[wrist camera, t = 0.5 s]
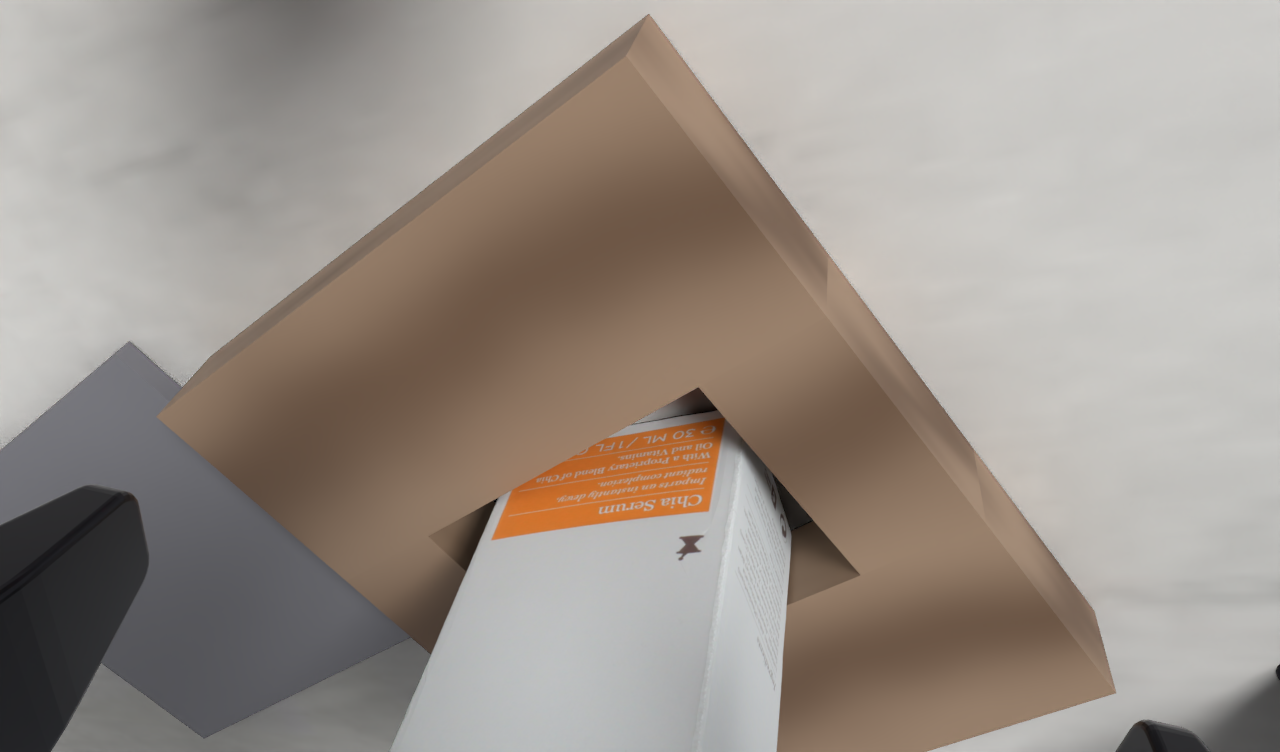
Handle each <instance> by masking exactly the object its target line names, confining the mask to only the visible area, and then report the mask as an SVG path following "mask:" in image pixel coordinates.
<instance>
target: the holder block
mask: <svg viewBox="0 0 1280 752" xmlns="http://www.w3.org/2000/svg"><path fill="white" fill-rule="evenodd" d="M698 387H699V388H700V390H701V391H702V392H703V393H704V394H705V395H706V396H707V398H708V399H709V400H710V401H711V402H712V403H713V405H714V406H715V407H716V408H717V409H718V410H719V412H720V413H721V414H722V415H723V416H724V417H725V419H726V420H727V421H728V422H729V423H730V424H731V425H732V427H733V428H734V429H735V430H736V431H737V432H738V434H739V435H740V436H741V437H742V438H743V439H744V441H745V442H746V443H747V444H748V445H749V446H750V447H751V449H752V450H753V451H754V452H755V453H756V454H757V456H758V457H759V458H760V459H761V460H762V461H763V463H764V464H765V465H766V466H767V467H768V468H769V470H770V471H771V472H772V473H773V474H774V475H775V476H776V478H777V479H778V480H779V481H780V482H781V483H782V485H783V486H784V487H785V488H786V489H787V490H788V492H789V493H790V494H791V495H792V496H793V497H794V499H795V500H796V501H797V502H798V503H799V504H800V505H801V507H802V508H803V509H804V510H805V511H806V512H807V514H808V515H809V516H810V517H811V518H812V519H813V521H812V522H810V523H808V524H805V525H803V526H801V527H799V528H797V529H794V530H792V531H791V535H792V536H791V554H790V570H789V583H788V594H787V609H786V624H785V635H784V647H783V665H782V682H781V697H780V711H779V726H778V738H777V740H778V741H777V752H926V751H930V750H933V749H936V748H939V747H943V746H946V745H949V744H952V743H956V742H959V741H962V740H965V739H969V738H972V737H975V736H978V735H982V734H985V733H988V732H991V731H994V730H998V729H1001V728H1004V727H1007V726H1011V725H1014V724H1017V723H1020V722H1024V721H1027V720H1030V719H1033V718H1037V717H1040V716H1043V715H1046V714H1050V713H1053V712H1056V711H1059V710H1063V709H1066V708H1069V707H1072V706H1076V705H1079V704H1082V703H1085V702H1089V701H1092V700H1095V699H1098V698H1101V697H1105V696H1108V695H1111V694H1114V693H1116V690H1115V687H1114V683H1113V679H1112V675H1111V672H1110V668H1109V664H1108V660H1107V657H1106V653H1105V649H1104V645H1103V642H1102V638H1101V634H1100V631H1099V627H1098V623H1097V619H1096V616H1095V612H1094V610H1093V609H1092V607H1091V606H1090V605H1089V603H1088V602H1087V601H1086V599H1085V598H1084V597H1083V595H1082V594H1081V593H1080V591H1079V590H1078V589H1077V587H1076V586H1075V585H1074V583H1073V582H1072V581H1071V579H1070V578H1069V577H1068V575H1067V574H1066V573H1065V571H1064V570H1063V568H1062V567H1061V566H1060V564H1059V563H1058V562H1057V560H1056V559H1055V558H1054V556H1053V555H1052V554H1051V552H1050V551H1049V550H1048V548H1047V547H1046V546H1045V544H1044V543H1043V542H1042V540H1041V539H1040V538H1039V536H1038V535H1037V534H1036V532H1035V531H1034V530H1033V528H1032V527H1031V526H1030V524H1029V523H1028V522H1027V520H1026V519H1025V518H1024V516H1023V515H1022V514H1021V512H1020V511H1019V509H1018V508H1017V507H1016V505H1015V504H1014V503H1013V501H1012V500H1011V499H1010V497H1009V496H1008V495H1007V493H1006V492H1005V491H1004V489H1003V488H1002V487H1001V485H1000V484H999V483H998V481H997V480H996V479H995V477H994V476H993V475H992V473H991V472H990V471H989V469H988V468H987V467H986V465H985V464H984V463H983V461H982V460H981V459H980V457H979V456H978V455H977V453H976V452H975V450H974V449H973V448H972V446H971V445H970V444H969V442H968V441H967V440H966V438H965V437H964V436H963V434H962V433H961V432H960V430H959V429H958V428H957V426H956V425H955V424H954V422H953V421H952V420H951V418H950V417H949V416H948V414H947V413H946V412H945V410H944V409H943V408H942V406H941V405H940V404H939V402H938V401H937V400H936V398H935V397H934V396H933V394H932V393H931V391H930V390H929V389H928V387H927V386H926V385H925V383H924V382H923V381H922V379H921V378H920V377H919V375H918V374H917V373H916V371H915V370H914V369H913V367H912V366H911V365H910V363H909V362H908V361H907V359H906V358H905V357H904V355H903V354H902V353H901V351H900V350H899V349H898V347H897V346H896V345H895V343H894V342H893V341H892V339H891V338H890V337H889V335H888V334H887V332H886V331H885V330H884V328H883V327H882V326H881V324H880V323H879V322H878V320H877V319H876V318H875V316H874V315H873V314H872V312H871V311H870V310H869V308H868V307H867V306H866V304H865V303H864V302H863V300H862V299H861V298H860V296H859V295H858V294H857V292H856V291H855V290H854V288H853V287H852V286H851V284H850V283H849V282H848V280H847V279H846V278H845V276H844V275H843V273H842V272H841V271H840V269H839V268H838V267H837V265H836V264H835V263H834V261H833V260H832V259H831V257H830V256H829V255H828V253H827V252H826V251H825V249H824V248H823V247H822V245H821V244H820V243H819V241H818V240H817V239H816V237H815V236H814V235H813V233H812V232H811V231H810V229H809V228H808V227H807V225H806V224H805V223H804V221H803V220H802V219H801V217H800V216H799V214H798V213H797V212H796V210H795V209H794V208H793V206H792V205H791V204H790V202H789V201H788V200H787V198H786V197H785V196H784V194H783V193H782V192H781V190H780V189H779V188H778V186H777V185H776V184H775V182H774V181H773V180H772V178H771V177H770V176H769V174H768V173H767V172H766V170H765V169H764V168H763V166H762V165H761V164H760V162H759V161H758V160H757V158H756V157H755V155H754V154H753V153H752V151H751V150H750V149H749V147H748V146H747V145H746V143H745V142H744V141H743V139H742V138H741V137H740V135H739V134H738V133H737V131H736V130H735V129H734V127H733V126H732V125H731V123H730V122H729V121H728V119H727V118H726V117H725V115H724V114H723V113H722V111H721V110H720V109H719V107H718V106H717V105H716V103H715V102H714V101H713V99H712V98H711V96H710V95H709V94H708V92H707V91H706V90H705V88H704V87H703V86H702V84H701V83H700V82H699V80H698V79H697V78H696V76H695V75H694V74H693V72H692V71H691V70H690V68H689V67H688V66H687V64H686V63H685V62H684V60H683V59H682V58H681V56H680V55H679V54H678V52H677V51H676V50H675V48H674V47H673V46H672V44H671V43H670V42H669V40H668V39H667V37H666V36H665V35H664V33H663V32H662V31H661V29H660V28H659V27H658V25H657V24H656V23H655V21H654V20H653V19H652V17H651V16H650V15H649V14H648V15H647V16H646V17H644V18H643V19H642V20H640V21H639V22H638V23H637V24H635V25H634V26H633V27H632V28H630V29H629V30H628V31H626V32H625V33H624V34H623V35H621V36H620V37H619V38H617V39H616V40H615V41H614V42H612V43H611V44H610V45H608V46H607V47H606V48H605V49H603V50H602V51H601V52H600V53H598V54H597V55H596V56H594V57H593V58H592V59H591V60H589V61H588V62H587V63H585V64H584V65H583V66H582V67H580V68H579V69H578V70H577V71H575V72H574V73H573V74H571V75H570V76H569V77H568V78H566V79H565V80H564V81H562V82H561V83H560V84H559V85H557V86H556V87H555V88H553V89H552V90H551V91H550V92H548V93H547V94H546V95H545V96H543V97H542V98H541V99H539V100H538V101H537V102H536V103H534V104H533V105H532V106H530V107H529V108H528V109H527V110H525V111H524V112H523V113H522V114H520V115H519V116H518V117H516V118H515V119H514V120H513V121H511V122H510V123H509V124H507V125H506V126H505V127H504V128H502V129H501V130H500V131H498V132H497V133H496V134H495V135H493V136H492V137H491V138H490V139H488V140H487V141H486V142H484V143H483V144H482V145H481V146H479V147H478V148H477V149H475V150H474V151H473V152H472V153H470V154H469V155H468V156H466V157H465V158H464V159H463V160H461V161H460V162H459V163H458V164H456V165H455V166H454V167H452V168H451V169H450V170H449V171H447V172H446V173H445V174H443V175H442V176H441V177H440V178H438V179H437V180H436V181H435V182H433V183H432V184H431V185H429V186H428V187H427V188H426V189H424V190H423V191H422V192H420V193H419V194H418V195H417V196H415V197H414V198H413V199H411V200H410V201H409V202H408V203H406V204H405V205H404V206H403V207H401V208H400V209H399V210H397V211H396V212H395V213H394V214H392V215H391V216H390V217H388V218H387V219H386V220H385V221H383V222H382V223H381V224H380V225H378V226H377V227H376V228H374V229H373V230H372V231H371V232H369V233H368V234H367V235H365V236H364V237H363V238H362V239H360V240H359V241H358V242H356V243H355V244H354V245H353V246H351V247H350V248H349V249H348V250H346V251H345V252H344V253H342V254H341V255H340V256H339V257H337V258H336V259H335V260H333V261H332V262H331V263H330V264H328V265H327V266H326V267H324V268H323V269H322V270H321V271H319V272H318V273H317V274H316V275H314V276H313V277H312V278H310V279H309V280H308V281H307V282H305V283H304V284H303V285H301V286H300V287H299V288H298V289H296V290H295V291H294V292H293V293H291V294H290V295H289V296H287V297H286V298H285V299H284V300H282V301H281V302H280V303H278V304H277V305H276V306H275V307H273V308H272V309H271V310H269V311H268V312H267V313H266V314H264V315H263V316H262V317H261V318H259V319H258V320H257V321H255V322H254V323H253V324H252V325H250V326H249V327H248V328H246V329H245V330H244V331H243V332H241V333H240V334H239V335H237V336H236V337H235V338H234V339H232V340H231V341H230V342H229V343H227V344H226V345H225V346H223V347H222V348H221V349H220V350H218V351H217V352H216V353H214V354H213V355H212V356H211V357H210V358H209V359H208V360H207V361H206V362H205V363H204V364H203V365H202V367H201V368H200V369H199V370H198V371H197V372H196V373H195V374H194V375H193V377H192V378H191V379H190V380H189V381H188V382H187V383H186V384H185V385H184V386H183V388H182V389H181V390H180V391H179V392H178V393H177V394H176V395H175V396H174V398H173V399H172V400H171V401H170V402H169V403H168V404H167V405H166V406H165V407H164V409H163V410H162V411H161V412H160V413H159V414H158V415H157V416H156V417H157V418H158V419H159V420H161V421H162V422H163V423H164V424H165V425H166V426H167V427H169V428H170V429H171V430H172V431H173V432H174V433H176V434H177V435H178V436H179V437H180V438H181V439H183V440H184V441H185V442H186V443H187V444H188V445H189V446H191V447H192V448H193V449H194V450H195V451H196V452H198V453H199V454H200V455H201V456H202V457H203V458H204V459H206V460H207V461H208V462H209V463H210V464H211V465H213V466H214V467H215V468H216V469H217V470H218V471H220V472H221V473H222V474H223V475H224V476H225V477H226V478H228V479H229V480H230V481H231V482H232V483H233V484H235V485H236V486H237V487H238V488H239V489H240V490H241V491H243V492H244V493H245V494H246V495H247V496H248V497H250V498H251V499H252V500H253V501H254V502H255V503H257V504H258V505H259V506H260V507H261V508H262V509H263V510H265V511H266V512H267V513H268V514H269V515H270V516H272V517H273V518H274V519H275V520H276V521H277V522H278V523H280V524H281V525H282V526H283V527H284V528H285V529H287V530H288V531H289V532H290V533H291V534H292V535H294V536H295V537H296V538H297V539H298V540H299V541H300V542H302V543H303V544H304V545H305V546H306V547H307V548H309V549H310V550H311V551H312V552H313V553H314V554H315V555H317V556H318V557H319V558H320V559H321V560H322V561H324V562H325V563H326V564H327V565H328V566H329V567H331V568H332V569H333V570H334V571H335V572H336V573H337V574H339V575H340V576H341V577H342V578H343V579H344V580H346V581H347V582H348V583H349V584H350V585H351V586H353V587H354V588H355V589H356V590H357V591H358V592H359V593H361V594H362V595H363V596H364V597H365V598H366V599H368V600H369V601H370V602H371V603H372V604H373V605H374V606H376V607H377V608H378V609H379V610H380V611H381V612H383V613H384V614H385V615H386V616H387V617H388V618H390V619H391V620H392V621H393V622H394V623H395V624H396V625H398V626H399V627H400V628H401V629H402V630H403V631H405V632H406V633H407V634H408V635H409V636H410V637H411V638H413V639H414V640H415V641H416V642H417V643H418V644H420V645H421V646H422V647H423V648H424V649H425V650H427V651H428V652H429V653H430V654H431V653H432V651H433V649H434V647H435V644H436V642H437V639H438V637H439V635H440V632H441V630H442V627H443V625H444V622H445V620H446V618H447V616H448V613H449V611H450V609H451V606H452V604H453V602H454V599H455V597H456V595H457V592H458V590H459V587H460V585H461V583H462V581H463V578H464V576H465V574H466V572H467V569H468V567H469V565H470V562H471V560H472V558H473V555H474V553H475V551H476V548H477V546H478V543H479V541H480V539H481V537H482V534H483V532H484V530H485V527H486V525H487V523H488V520H489V518H490V516H491V513H492V511H493V508H494V506H495V503H494V502H493V500H495V499H497V498H498V497H500V496H502V495H504V494H506V493H508V492H509V491H511V490H513V489H515V488H517V487H518V486H520V485H522V484H524V483H526V482H528V481H529V480H531V479H533V478H535V477H537V476H538V475H540V474H542V473H544V472H546V471H547V470H549V469H551V468H553V467H555V466H557V465H558V464H560V463H562V462H564V461H566V460H567V459H569V458H571V457H573V456H575V455H576V454H578V453H580V452H582V451H584V450H586V449H587V448H589V447H591V446H593V445H595V444H596V443H598V442H600V441H602V440H604V439H606V438H607V437H609V436H611V435H613V434H615V433H616V432H618V431H620V430H622V429H624V428H625V427H627V426H629V425H631V424H633V423H635V422H636V421H638V420H640V419H642V418H644V417H645V416H647V415H649V414H651V413H653V412H654V411H656V410H658V409H660V408H662V407H664V406H665V405H667V404H669V403H671V402H673V401H674V400H676V399H678V398H680V397H682V396H684V395H685V394H687V393H689V392H691V391H693V390H694V389H696V388H698Z"/></svg>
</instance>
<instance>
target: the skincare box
mask: <svg viewBox="0 0 1280 752" xmlns="http://www.w3.org/2000/svg"><path fill="white" fill-rule="evenodd" d="M791 536H792V535H791V531H790V528H789V525H788V521H787V518H786V515H785V512H784V509H783V506H782V503H781V500H780V496H779V493H778V490H777V487H776V484H775V481H774V478H773V475H772V472H771V471H770V470H769V468H768V467H767V466H766V465H765V464H764V463H763V461H762V460H761V459H760V458H759V457H758V456H757V454H756V453H755V452H754V451H753V450H752V449H751V447H750V446H749V445H748V444H747V443H746V442H745V441H744V439H743V438H742V437H741V436H740V435H739V434H738V432H737V431H736V430H735V429H734V428H733V427H732V425H731V424H730V423H729V422H728V421H727V420H726V419H725V417H724V416H723V415H722V414H721V413H720V412H719V410H716V411H712V412H706V413H699V414H692V415H686V416H679V417H674V418H669V419H663V420H658V421H652V422H646V423H640V424H634V425H629V426H627V427H625V428H624V429H622V430H620V431H618V432H616V433H615V434H613V435H611V436H609V437H607V438H606V439H604V440H602V441H600V442H598V443H596V444H595V445H593V446H591V447H589V448H587V449H586V450H584V451H582V452H580V453H578V454H576V455H575V456H573V457H571V458H569V459H567V460H566V461H564V462H562V463H560V464H558V465H557V466H555V467H553V468H551V469H549V470H547V471H546V472H544V473H542V474H540V475H538V476H537V477H535V478H533V479H531V480H529V481H528V482H526V483H524V484H522V485H520V486H518V487H517V488H515V489H513V490H511V491H509V492H508V493H506V494H504V495H502V496H500V497H498V499H497V502H496V504H495V506H494V508H493V511H492V513H491V516H490V518H489V520H488V523H487V525H486V527H485V530H484V532H483V534H482V537H481V539H480V541H479V543H478V546H477V548H476V551H475V553H474V555H473V558H472V560H471V562H470V565H469V567H468V569H467V572H466V574H465V576H464V578H463V581H462V583H461V585H460V587H459V590H458V592H457V595H456V597H455V599H454V602H453V604H452V606H451V609H450V611H449V613H448V616H447V618H446V620H445V622H444V625H443V627H442V630H441V632H440V635H439V637H438V639H437V642H436V644H435V647H434V649H433V651H432V653H431V656H430V658H429V660H428V663H427V665H426V667H425V670H424V672H423V674H422V677H421V679H420V681H419V684H418V686H417V688H416V691H415V693H414V695H413V697H412V699H411V702H410V704H409V706H408V709H407V711H406V714H405V716H404V719H403V721H402V723H401V726H400V728H399V730H398V732H397V735H396V737H395V739H394V741H393V744H392V746H391V748H390V751H389V752H777V741H778V740H777V738H778V726H779V711H780V697H781V682H782V665H783V647H784V635H785V624H786V609H787V594H788V583H789V570H790V554H791Z"/></svg>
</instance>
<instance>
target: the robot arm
mask: <svg viewBox="0 0 1280 752" xmlns="http://www.w3.org/2000/svg"><path fill="white" fill-rule="evenodd" d="M148 567H149V551H148V546H147V541H146V536H145V531H144V527H143V522H142V517H141V512H140V507H139V503H138V500H137V499H136V498H135V497H134V495H133V494H132V493H130V492H128V491H124V490H120V489H115V488H111V487H106V486H102V485H96V484H88V485H84V486H81V487H79V488H76V489H74V490H72V491H70V492H68V493H66V494H64V495H61V496H59V497H57V498H55V499H53V500H51V501H49V502H47V503H45V504H42V505H40V506H38V507H36V508H34V509H32V510H30V511H28V512H26V513H24V514H21V515H19V516H17V517H15V518H13V519H11V520H9V521H7V522H5V523H2V524H0V752H51V750H52V749H53V747H54V746H55V744H56V743H57V741H58V739H59V738H60V736H61V735H62V733H63V732H64V730H65V728H66V727H67V725H68V723H69V721H70V720H71V718H72V716H73V714H74V712H75V711H76V709H77V707H78V705H79V704H80V702H81V700H82V698H83V696H84V694H85V692H86V690H87V688H88V687H89V685H90V683H91V681H92V679H93V677H94V675H95V673H96V671H97V670H98V668H99V666H100V664H101V662H102V660H103V658H104V656H105V654H106V652H107V651H108V649H109V647H110V645H111V643H112V641H113V639H114V637H115V635H116V634H117V632H118V630H119V628H120V626H121V624H122V622H123V620H124V618H125V616H126V615H127V613H128V611H129V609H130V607H131V605H132V603H133V601H134V599H135V598H136V596H137V594H138V592H139V590H140V588H141V586H142V584H143V582H144V580H145V577H146V574H147V571H148ZM1276 673H1277V676H1278V678H1279V680H1280V665H1279V666H1278V667H1277V670H1276ZM1116 752H1210V751H1209V750H1208V748H1207V747H1206V746H1205V745H1204V743H1203V742H1202V741H1201V740H1200V739H1199V738H1198V737H1197V736H1196V735H1195V734H1194V733H1193V732H1191V731H1190V730H1188V729H1185V728H1182V727H1178V726H1174V725H1169V724H1165V723H1161V722H1156V721H1152V720H1141V721H1139V722H1137V723H1135V724H1134V725H1133V727H1132V728H1131V729H1130V730H1129V732H1128V734H1127V735H1126V737H1125V738H1124V740H1123V741H1122V743H1121V744H1120V746H1119V747H1118V749H1117V750H1116Z"/></svg>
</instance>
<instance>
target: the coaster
mask: <svg viewBox="0 0 1280 752" xmlns="http://www.w3.org/2000/svg"><path fill="white" fill-rule="evenodd" d="M181 389H182V388H181V387H180V386H179V385H178V384H177V383H176V382H174V381H173V380H172V379H171V378H170V377H169V376H168V375H167V374H165V373H164V372H163V371H162V370H161V369H160V368H159V367H158V366H156V365H155V364H154V363H153V362H152V361H151V360H150V359H149V358H147V357H146V356H145V355H144V354H143V353H142V352H141V351H140V350H138V349H137V348H136V347H135V346H134V345H133V344H132V343H131V342H128V343H127V344H126V345H124V346H123V347H122V348H121V349H120V350H118V351H117V352H116V353H115V354H114V355H113V356H111V357H110V358H109V359H108V360H107V361H105V362H104V363H103V364H102V365H101V366H100V367H98V368H97V369H96V370H95V371H94V372H92V373H91V374H90V375H89V376H88V377H87V378H85V379H84V380H83V381H82V382H81V383H79V384H78V385H77V386H76V387H75V388H74V389H72V390H71V391H70V392H69V393H68V394H66V395H65V396H64V397H63V398H62V399H61V400H59V401H58V402H57V403H56V404H55V405H53V406H52V407H51V408H50V409H49V410H48V411H46V412H45V413H44V414H43V415H42V416H40V417H39V418H38V419H37V420H36V421H35V422H33V423H32V424H31V425H30V426H29V427H27V428H26V429H25V430H24V431H23V432H22V433H20V434H19V435H18V436H17V437H16V438H14V439H13V440H12V441H11V442H10V443H9V444H7V445H6V446H5V447H4V448H3V449H1V450H0V524H2V523H5V522H7V521H9V520H11V519H13V518H15V517H17V516H19V515H21V514H24V513H26V512H28V511H30V510H32V509H34V508H36V507H38V506H40V505H42V504H45V503H47V502H49V501H51V500H53V499H55V498H57V497H59V496H61V495H64V494H66V493H68V492H70V491H72V490H74V489H76V488H79V487H81V486H84V485H88V484H96V485H102V486H106V487H111V488H115V489H120V490H124V491H128V492H130V493H132V494H133V495H134V497H135V498H136V499H137V500H138V503H139V507H140V512H141V517H142V522H143V527H144V531H145V536H146V541H147V546H148V551H149V567H148V571H147V574H146V577H145V580H144V582H143V584H142V586H141V588H140V590H139V592H138V594H137V596H136V598H135V599H134V601H133V603H132V605H131V607H130V609H129V611H128V613H127V615H126V616H125V618H124V620H123V622H122V624H121V626H120V628H119V630H118V632H117V634H116V635H115V637H114V639H113V641H112V643H111V645H110V647H109V649H108V651H107V652H106V654H105V656H104V658H103V660H102V662H101V663H102V664H104V665H105V666H106V667H108V668H109V669H110V670H112V671H113V672H114V673H116V674H117V675H118V676H120V677H121V678H123V679H124V680H125V681H127V682H128V683H129V684H131V685H132V686H133V687H135V688H136V689H137V690H139V691H140V692H142V693H143V694H144V695H146V696H147V697H148V698H150V699H151V700H152V701H154V702H155V703H156V704H158V705H159V706H161V707H162V708H163V709H165V710H166V711H167V712H169V713H170V714H171V715H173V716H174V717H176V718H177V719H178V720H180V721H181V722H182V723H184V724H185V725H186V726H188V727H189V728H190V729H192V730H193V731H195V732H196V733H197V734H199V735H200V736H201V737H203V738H206V737H208V736H210V735H212V734H214V733H216V732H218V731H220V730H222V729H224V728H226V727H228V726H230V725H232V724H235V723H237V722H239V721H241V720H243V719H245V718H247V717H249V716H251V715H253V714H255V713H257V712H259V711H261V710H263V709H265V708H267V707H269V706H271V705H273V704H275V703H277V702H279V701H281V700H283V699H285V698H288V697H290V696H292V695H294V694H296V693H298V692H300V691H302V690H304V689H306V688H308V687H310V686H312V685H314V684H316V683H318V682H320V681H322V680H324V679H326V678H328V677H330V676H332V675H334V674H336V673H338V672H341V671H343V670H345V669H347V668H349V667H351V666H353V665H355V664H357V663H359V662H361V661H363V660H365V659H367V658H369V657H371V656H373V655H375V654H377V653H379V652H381V651H383V650H385V649H387V648H389V647H391V646H393V645H396V644H398V643H400V642H402V641H404V640H406V639H408V638H410V636H409V635H408V634H407V633H406V632H405V631H403V630H402V629H401V628H400V627H399V626H398V625H396V624H395V623H394V622H393V621H392V620H391V619H390V618H388V617H387V616H386V615H385V614H384V613H383V612H381V611H380V610H379V609H378V608H377V607H376V606H374V605H373V604H372V603H371V602H370V601H369V600H368V599H366V598H365V597H364V596H363V595H362V594H361V593H359V592H358V591H357V590H356V589H355V588H354V587H353V586H351V585H350V584H349V583H348V582H347V581H346V580H344V579H343V578H342V577H341V576H340V575H339V574H337V573H336V572H335V571H334V570H333V569H332V568H331V567H329V566H328V565H327V564H326V563H325V562H324V561H322V560H321V559H320V558H319V557H318V556H317V555H315V554H314V553H313V552H312V551H311V550H310V549H309V548H307V547H306V546H305V545H304V544H303V543H302V542H300V541H299V540H298V539H297V538H296V537H295V536H294V535H292V534H291V533H290V532H289V531H288V530H287V529H285V528H284V527H283V526H282V525H281V524H280V523H278V522H277V521H276V520H275V519H274V518H273V517H272V516H270V515H269V514H268V513H267V512H266V511H265V510H263V509H262V508H261V507H260V506H259V505H258V504H257V503H255V502H254V501H253V500H252V499H251V498H250V497H248V496H247V495H246V494H245V493H244V492H243V491H241V490H240V489H239V488H238V487H237V486H236V485H235V484H233V483H232V482H231V481H230V480H229V479H228V478H226V477H225V476H224V475H223V474H222V473H221V472H220V471H218V470H217V469H216V468H215V467H214V466H213V465H211V464H210V463H209V462H208V461H207V460H206V459H204V458H203V457H202V456H201V455H200V454H199V453H198V452H196V451H195V450H194V449H193V448H192V447H191V446H189V445H188V444H187V443H186V442H185V441H184V440H183V439H181V438H180V437H179V436H178V435H177V434H176V433H174V432H173V431H172V430H171V429H170V428H169V427H167V426H166V425H165V424H164V423H163V422H162V421H161V420H159V419H158V418H157V417H156V416H157V415H158V414H159V413H160V412H161V411H162V410H163V409H164V407H165V406H166V405H167V404H168V403H169V402H170V401H171V400H172V399H173V398H174V396H175V395H176V394H177V393H178V392H179V391H180V390H181Z"/></svg>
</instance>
